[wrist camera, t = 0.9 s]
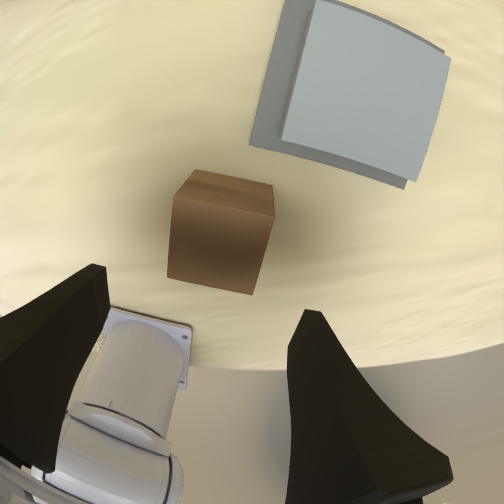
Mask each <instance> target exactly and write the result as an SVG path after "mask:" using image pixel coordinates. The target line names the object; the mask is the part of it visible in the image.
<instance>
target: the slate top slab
mask: <svg viewBox="0 0 504 504" xmlns="http://www.w3.org/2000/svg"><path fill="white" fill-rule="evenodd" d="M450 61H451V58H449V57H448V56H446V55H444V54H443V53H441V52H439V51H438V50H436V49H434V48H433V47H431V46H429V45H427V44H426V43H424V42H422V41H420V40H418V39H416V38H414V37H412V36H410V35H409V34H407V33H404V32H402V31H400V30H398V29H396V28H394V27H392V26H390V25H387V24H385V23H383V22H381V21H378V20H376V19H374V18H371V17H369V16H366V15H364V14H361V13H358V12H356V11H353V10H350V9H347V8H344V7H341V6H338V5H335V4H332V3H329V2H326V1H322V0H316V1H315V2H314V4H313V6H312V7H311V9H310V12H309V16H308V20H307V24H306V28H305V32H304V36H303V40H302V44H301V48H300V52H299V56H298V60H297V64H296V68H295V72H294V76H293V80H292V84H291V88H290V92H289V96H288V100H287V104H286V108H285V112H284V116H283V120H282V124H281V128H280V132H279V135H280V138H281V140H284V141H288V142H292V143H296V144H300V145H303V146H307V147H311V148H315V149H318V150H322V151H325V152H329V153H332V154H335V155H339V156H342V157H345V158H349V159H352V160H355V161H358V162H361V163H364V164H367V165H370V166H373V167H376V168H379V169H382V170H384V171H387V172H390V173H393V174H395V175H398V176H401V177H403V178H406V179H409V180H411V181H414V182H416V181H417V178H418V175H419V172H420V170H421V167H422V164H423V161H424V158H425V155H426V152H427V149H428V146H429V143H430V140H431V136H432V133H433V130H434V126H435V123H436V119H437V116H438V112H439V109H440V105H441V101H442V97H443V93H444V89H445V85H446V80H447V76H448V71H449V66H450Z"/></svg>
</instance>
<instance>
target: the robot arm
mask: <svg viewBox="0 0 504 504" xmlns="http://www.w3.org/2000/svg"><path fill="white" fill-rule="evenodd" d="M103 328H104V333H105V338H106V339H105V341H104V343H103V345H102V347H101V349H100V351H99V353H98V355H97V357H96V359H95V361H94V363H93V365H92V367H91V370H90V372H89V374H88V376H87V378H86V380H85V383H84V385H83V387H82V389H81V392H80V394H79V397H78V399H77V401H76V400H73V402H72V404H71V406H70V409H69V411H68V409H67V406H68V402H69V399H70V396H71V393H72V390H73V387H74V385H75V382H76V380H77V378H78V375H79V373H80V372H81V370H82V368H83V366H84V364H85V362H86V360H87V358H88V356H89V354H90V352H91V350H92V348H93V347H94V345H95V343H96V341H97V339H98V337H99V335H100V333H101V331H102V329H103ZM185 335H186V336H185ZM191 338H192V329H191V328H190V327H188V326H185V325H180V324H176V323H172V322H167V321H163V320H159V319H155V318H151V317H147V316H143V315H139V314H135V313H132V312H128V311H124V310H120V309H117V308H113V307H110V300H109V292H108V283H107V273H106V267H104V266H100V265H96V264H90V265H88V266H86V267H85V268H83V269H81V270H80V271H78V272H77V273H75V274H74V275H72V276H70V277H69V278H67V279H66V280H64V281H63V282H61V283H60V284H58V285H56V286H55V287H53V288H52V289H50V290H49V291H47V292H46V293H44V294H42V295H41V296H39V297H37V298H36V299H34V300H32V301H31V302H29V303H27V304H26V305H24V306H22V307H20V308H19V309H17V310H15V311H13V312H11V313H9V314H7V315H5V316H3V317H1V318H0V504H180V501H181V497H182V492H183V486H184V473H183V468H182V466H181V464H180V462H179V459H178V458H177V456H175V455H174V454H171V453H170V450H171V445H172V443H171V442H169V441H167V440H165V439H166V435H167V431H168V426H169V421H170V417H171V413H172V409H173V404H174V400H175V395H176V391H177V388H179V389H186V386H187V377H188V367H189V357H190V347H191ZM287 379H288V391H289V402H290V415H291V455H290V467H289V478H288V487H287V495H286V501H285V504H423V500H422V497H423V496H425V495H428V494H430V493H432V492H434V491H436V490H438V489H440V488H442V487H444V486H446V485H448V484H449V483H451V482H452V480H453V479H454V478H453V474H452V469H451V466H450V461H449V458H448V456H446V455H445V454H443V453H442V452H440V451H439V450H437V449H436V448H435V447H433V446H431V445H430V444H428V443H427V442H426V441H424V440H423V439H422V438H421V437H420V436H419V435H417V434H416V433H415V432H414V431H412V430H411V429H410V428H409V427H408V426H407V425H406V424H404V423H403V422H402V421H401V420H400V419H399V418H398V417H397V416H396V415H395V414H394V413H393V412H392V411H391V410H390V409H389V408H388V406H387V405H386V404H385V403H384V402H383V401H382V400H381V399H380V397H379V396H378V395H377V394H376V393H375V392H374V390H373V389H372V388H371V387H370V385H369V384H368V383H367V382H366V380H365V379H364V378H363V376H362V375H361V373H360V372H359V371H358V369H357V368H356V366H355V365H354V363H353V362H352V360H351V359H350V357H349V356H348V354H347V353H346V351H345V350H344V348H343V347H342V345H341V343H340V342H339V340H338V339H337V337H336V335H335V334H334V332H333V330H332V329H331V327H330V325H329V324H328V322H327V320H326V319H325V317H324V316H323V314H322V312H320V311H314V310H308V309H305V310H304V312H303V315H302V317H301V319H300V321H299V323H298V326H297V328H296V330H295V332H294V334H293V336H292V339H291V341H290V343H289V345H288V354H287ZM22 465H24V466H26V467H27V468H29V469H31V468H32V470H31V475H29V474H28V473H26V472H24V471H23V470H21V466H22ZM34 500H35V501H34ZM444 504H450V502H446V503H444Z"/></svg>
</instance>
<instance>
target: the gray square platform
mask: <svg viewBox="0 0 504 504" xmlns="http://www.w3.org/2000/svg"><path fill="white" fill-rule="evenodd" d="M315 1H316V0H285V3H284V7H283V11H282V14H281V18H280V22H279V26H278V29H277V33H276V37H275V41H274V45H273V49H272V53H271V57H270V61H269V64H268V68H267V72H266V77H265V81H264V85H263V89H262V93H261V97H260V101H259V105H258V110H257V114H256V118H255V122H254V127H253V131H252V135H251V140H250V144H249V145H251V146H255V147H260V148H264V149H269V150H273V151H277V152H281V153H285V154H289V155H293V156H297V157H301V158H305V159H309V160H312V161H316V162H320V163H323V164H327V165H330V166H333V167H337V168H340V169H343V170H347V171H350V172H353V173H356V174H359V175H363V176H366V177H369V178H372V179H375V180H378V181H380V182H383V183H386V184H389V185H392V186H395V187H397V188H400V189H403V190H404V188H405V185H406V183H407V180H408V179H406V178H403V177H401V176H398V175H395V174H393V173H390V172H387V171H384V170H382V169H379V168H376V167H373V166H370V165H367V164H364V163H361V162H358V161H355V160H352V159H349V158H345V157H342V156H339V155H335V154H332V153H329V152H325V151H322V150H318V149H315V148H311V147H307V146H303V145H300V144H296V143H292V142H288V141H284V140H281V138H280V135H279V132H280V128H281V124H282V120H283V116H284V112H285V108H286V104H287V100H288V96H289V92H290V88H291V84H292V80H293V76H294V72H295V68H296V64H297V60H298V56H299V52H300V48H301V44H302V40H303V36H304V32H305V28H306V24H307V20H308V16H309V12H310V9H311V7H312V6H313V4H314V2H315ZM322 1H326V2H329V3H332V4H335V5H338V6H341V7H344V8H347V9H350V10H353V11H356V12H358V13H361V14H364V15H366V16H369V17H371V18H374V19H376V20H378V21H381V22H383V23H385V24H387V25H390V26H392V27H394V28H396V29H398V30H400V31H402V32H404V33H407V34H409V35H410V36H412V37H414V38H416V39H418V40H420V41H422V42H424V43H426V44H427V45H429V46H431V47H433V48H434V49H436V50H438V51H439V52H441V53H443V54H444V52H445V51H444V50H442V49H441V48H439V47H437V46H436V45H434V44H432V43H430V42H429V41H427V40H425V39H423V38H422V37H420V36H418V35H416V34H414V33H412V32H410V31H408V30H406V29H404V28H402V27H400V26H398V25H396V24H394V23H392V22H390V21H388V20H386V19H383V18H381V17H379V16H376V15H374V14H372V13H369V12H367V11H364V10H362V9H359V8H356V7H354V6H351V5H348V4H345V3H343V2H340V1H337V0H322Z"/></svg>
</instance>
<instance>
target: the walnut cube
mask: <svg viewBox="0 0 504 504" xmlns="http://www.w3.org/2000/svg"><path fill="white" fill-rule="evenodd" d="M274 218H275V213H274V201H273V189H272V185H269V184H264V183H260V182H255V181H251V180H246V179H241V178H236V177H232V176H227V175H222V174H217V173H211V172H206V171H201V170H194V172H193V173H192V174H191V175H190V177H189V178H188V179H187V180H186V181H185V183H184V184H183V185H182V186H181V188H180V189H179V190H178V191H177V193H176V194H175V195H174V199H173V208H172V218H171V229H170V241H169V254H168V269H167V278H171V279H176V280H180V281H185V282H189V283H194V284H199V285H204V286H208V287H213V288H218V289H223V290H228V291H233V292H238V293H243V294H248V295H253V292H254V288H255V285H256V281H257V278H258V274H259V271H260V267H261V264H262V260H263V257H264V253H265V250H266V246H267V243H268V239H269V236H270V232H271V228H272V225H273V221H274Z"/></svg>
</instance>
